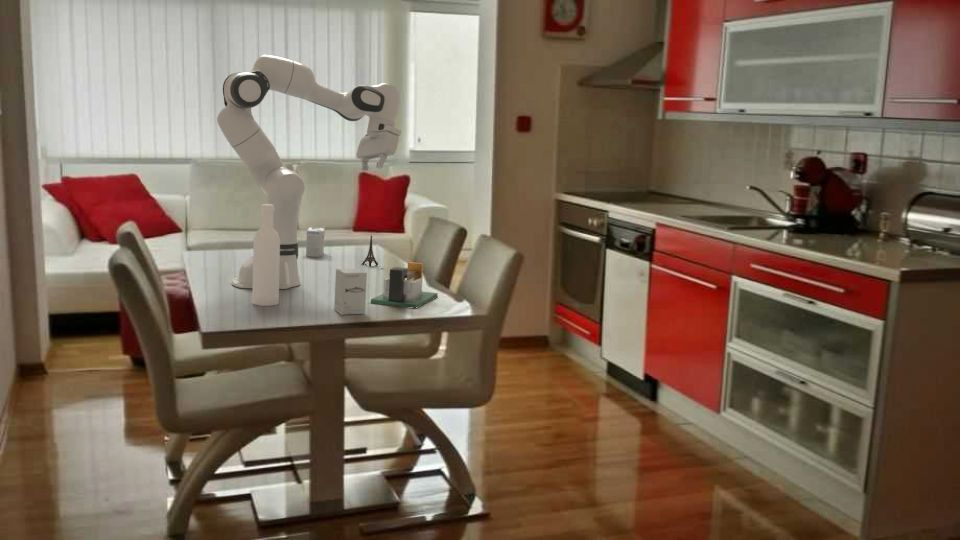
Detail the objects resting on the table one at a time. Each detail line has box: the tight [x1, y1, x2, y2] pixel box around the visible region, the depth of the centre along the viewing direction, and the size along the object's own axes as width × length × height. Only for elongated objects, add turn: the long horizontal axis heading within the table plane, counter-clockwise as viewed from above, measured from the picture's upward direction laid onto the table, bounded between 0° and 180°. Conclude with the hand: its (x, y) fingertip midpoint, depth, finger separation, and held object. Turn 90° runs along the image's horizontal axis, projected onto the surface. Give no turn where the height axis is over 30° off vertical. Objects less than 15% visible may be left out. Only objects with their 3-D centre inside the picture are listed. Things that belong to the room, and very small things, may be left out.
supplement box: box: [333, 268, 368, 316], centre depth 255 cm, size 7×7×13 cm
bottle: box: [251, 203, 280, 307], centre depth 258 cm, size 8×8×30 cm
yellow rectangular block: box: [404, 261, 424, 281], centre depth 280 cm, size 11×5×8 cm, turn 164°
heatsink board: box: [370, 266, 439, 309], centre depth 278 cm, size 21×15×11 cm
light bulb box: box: [305, 226, 326, 258], centre depth 357 cm, size 11×7×11 cm, turn 6°
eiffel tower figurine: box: [359, 233, 379, 266], centre depth 339 cm, size 15×10×13 cm
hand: (371, 169), depth 292 cm, fingers open, 8 cm apart
